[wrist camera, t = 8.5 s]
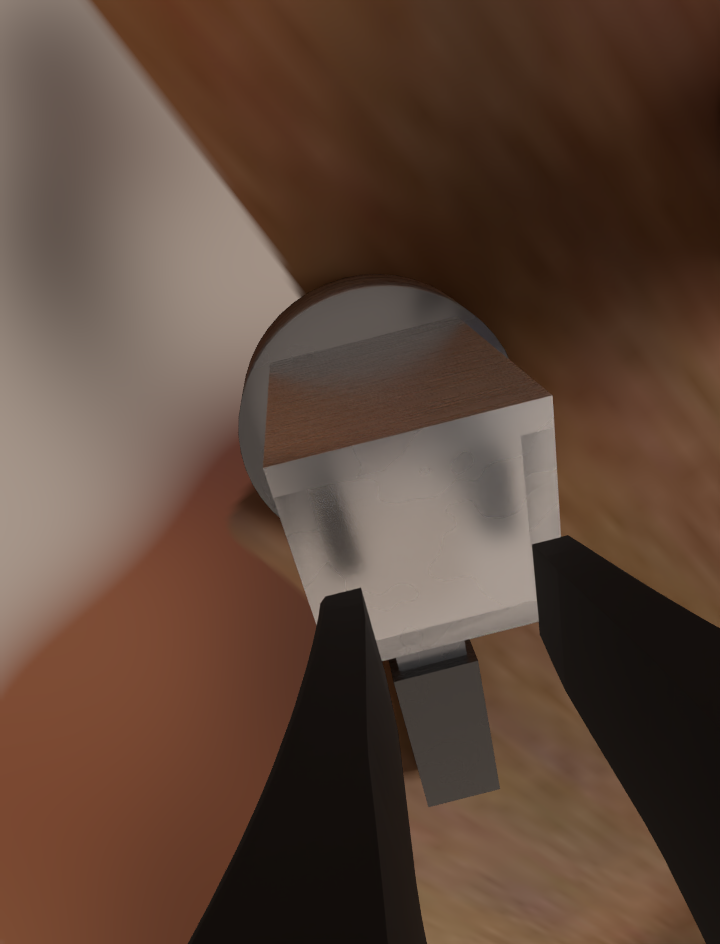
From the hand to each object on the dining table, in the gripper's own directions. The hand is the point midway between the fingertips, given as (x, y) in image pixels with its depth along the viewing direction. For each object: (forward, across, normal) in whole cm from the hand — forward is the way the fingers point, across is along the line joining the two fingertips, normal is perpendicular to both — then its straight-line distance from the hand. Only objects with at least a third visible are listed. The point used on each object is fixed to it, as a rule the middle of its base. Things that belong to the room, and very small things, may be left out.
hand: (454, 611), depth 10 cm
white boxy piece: (+8, 0, 0) cm, 8 cm away
